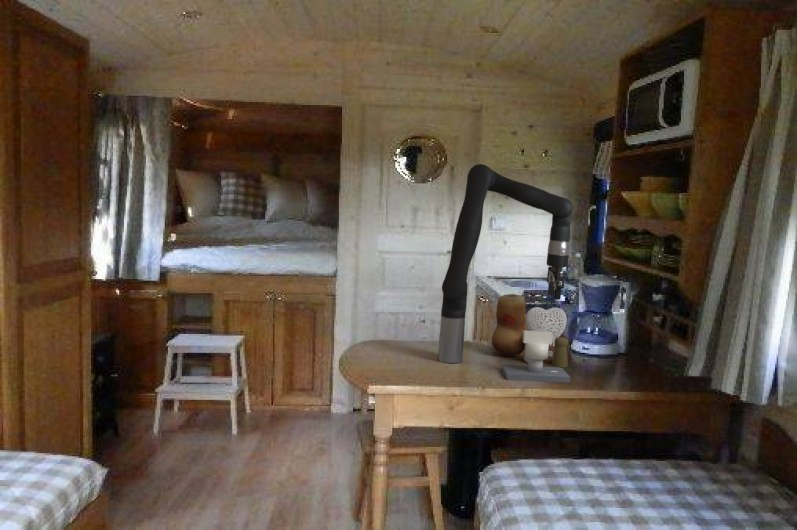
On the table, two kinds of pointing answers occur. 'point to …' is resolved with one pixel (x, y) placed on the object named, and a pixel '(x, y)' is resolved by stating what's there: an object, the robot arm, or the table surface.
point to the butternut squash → (509, 325)
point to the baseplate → (535, 372)
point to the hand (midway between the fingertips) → (553, 297)
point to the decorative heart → (544, 324)
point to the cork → (560, 352)
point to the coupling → (537, 344)
